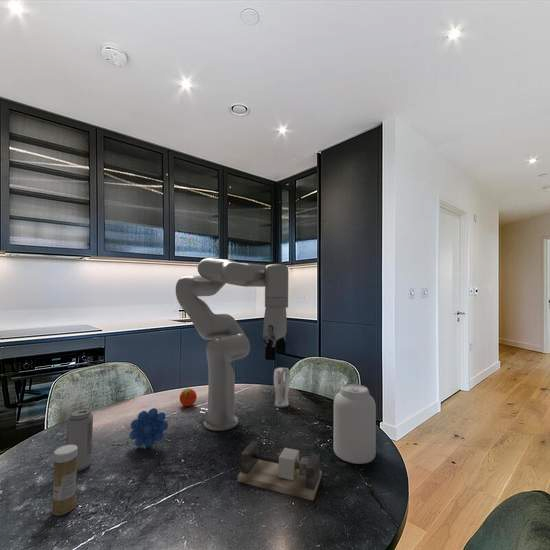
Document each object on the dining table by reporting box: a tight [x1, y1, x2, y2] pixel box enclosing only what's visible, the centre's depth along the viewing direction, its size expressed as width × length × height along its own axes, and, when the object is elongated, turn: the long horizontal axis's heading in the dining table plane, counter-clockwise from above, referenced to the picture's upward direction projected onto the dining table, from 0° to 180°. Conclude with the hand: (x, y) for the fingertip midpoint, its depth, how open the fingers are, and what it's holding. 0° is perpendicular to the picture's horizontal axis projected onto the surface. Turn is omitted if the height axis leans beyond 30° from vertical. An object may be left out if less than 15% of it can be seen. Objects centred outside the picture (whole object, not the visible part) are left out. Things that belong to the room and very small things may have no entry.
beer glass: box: [273, 366, 291, 408], centre depth 133 cm, size 7×7×15 cm
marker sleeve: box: [278, 447, 300, 481], centre depth 82 cm, size 4×5×5 cm
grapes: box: [129, 407, 169, 448], centre depth 98 cm, size 12×7×12 cm, turn 93°
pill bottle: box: [51, 444, 78, 517], centre depth 71 cm, size 5×5×14 cm
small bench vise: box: [237, 440, 323, 501], centre depth 82 cm, size 20×10×6 cm, turn 70°
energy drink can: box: [66, 408, 94, 473], centre depth 87 cm, size 6×6×15 cm
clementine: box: [179, 388, 197, 407], centre depth 130 cm, size 8×7×7 cm
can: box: [332, 383, 377, 465], centre depth 95 cm, size 12×12×20 cm
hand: (275, 356), depth 100 cm, fingers open, 9 cm apart
